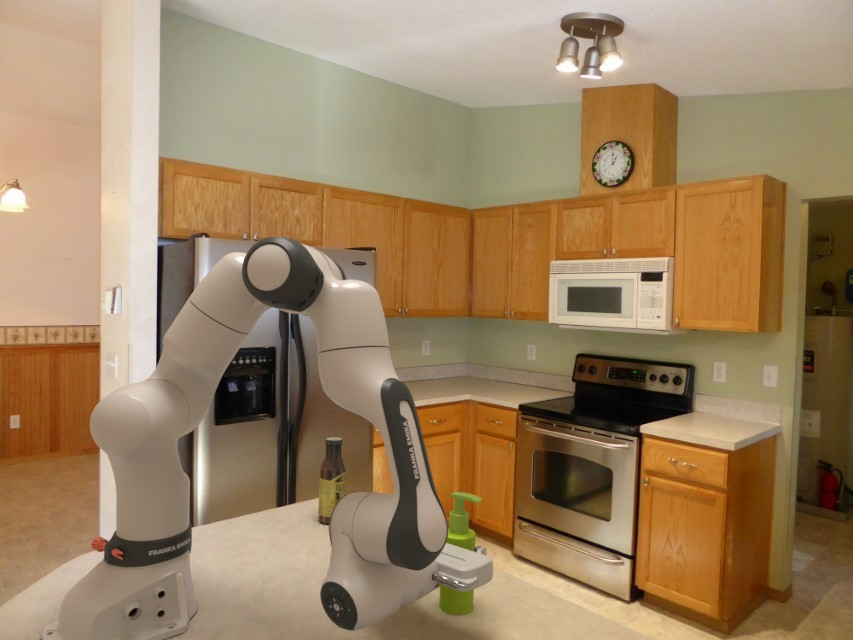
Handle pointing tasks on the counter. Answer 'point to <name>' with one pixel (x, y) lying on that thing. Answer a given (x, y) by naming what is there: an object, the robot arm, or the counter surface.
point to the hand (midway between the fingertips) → (459, 543)
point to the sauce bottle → (331, 479)
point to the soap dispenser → (463, 538)
